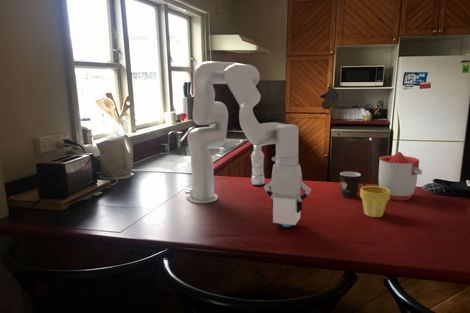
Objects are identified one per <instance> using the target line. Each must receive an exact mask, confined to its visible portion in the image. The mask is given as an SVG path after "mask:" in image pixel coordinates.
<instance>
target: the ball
mask: <svg viewBox="0 0 470 313" xmlns="http://www.w3.org/2000/svg"><path fill="white" fill-rule="evenodd" d="M280 224H281V223H280ZM281 226H282V227H284V228H289V227H292V225H289V224H281Z"/></svg>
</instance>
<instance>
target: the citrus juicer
mask: <svg viewBox="0 0 470 313" xmlns="http://www.w3.org/2000/svg"><path fill="white" fill-rule="evenodd" d="M378 160H379V165H378V187H383V188H387V189H389V190H390V198H389V200H395V201H399V202H403V201H407V200H411V199H412V197H413V195H414V193H415V190H416V186H417V181H418V175H419V176H421V175H423V170H422V169H420V168H419V167H420V159H418V158H416V157H413V156H405V155H404V154H403V153H402V152H400V151H397V152H396V153H395V154H393V155H382V156H379V157H378Z"/></svg>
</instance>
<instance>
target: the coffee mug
mask: <svg viewBox="0 0 470 313" xmlns="http://www.w3.org/2000/svg"><path fill="white" fill-rule="evenodd" d="M339 175H340V176H339V177H340V188H341V196H342V197H343V198H346V199H356V198H358V194H359V193H358V192H360V190H361V188H360V182H362V183H363V186H362V187H364V186H366V181H365V180H363V179H361V176H362V174H361V173H359V172H356V171H343V172H340V173H339ZM359 188H360V189H359Z"/></svg>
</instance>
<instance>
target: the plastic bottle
mask: <svg viewBox="0 0 470 313" xmlns="http://www.w3.org/2000/svg"><path fill="white" fill-rule="evenodd" d="M262 148H263V147H262V146H255V145H253V151H252V153H251V154H250V159H251V170H252V171H251V177H250V178H251V184H253V185H254V186H262V185H264V184H265V180H266V179H265V174H264V162H265V160H264V159H265V154H264V152H263V150H262Z"/></svg>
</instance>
